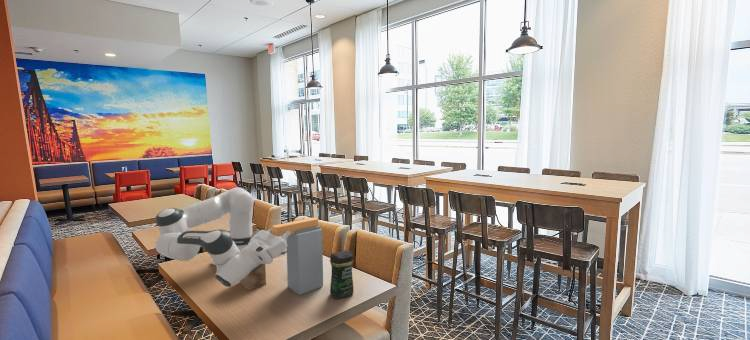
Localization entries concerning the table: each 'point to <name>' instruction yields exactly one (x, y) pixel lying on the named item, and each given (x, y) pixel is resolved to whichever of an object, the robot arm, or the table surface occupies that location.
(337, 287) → the coffee jar
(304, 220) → the tan wooden bar
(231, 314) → the table surface
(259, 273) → the brown piece
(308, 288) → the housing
